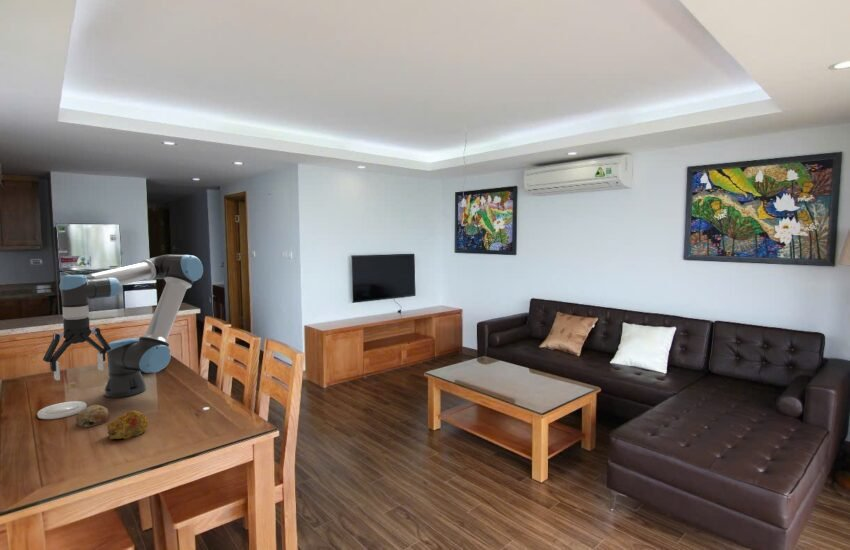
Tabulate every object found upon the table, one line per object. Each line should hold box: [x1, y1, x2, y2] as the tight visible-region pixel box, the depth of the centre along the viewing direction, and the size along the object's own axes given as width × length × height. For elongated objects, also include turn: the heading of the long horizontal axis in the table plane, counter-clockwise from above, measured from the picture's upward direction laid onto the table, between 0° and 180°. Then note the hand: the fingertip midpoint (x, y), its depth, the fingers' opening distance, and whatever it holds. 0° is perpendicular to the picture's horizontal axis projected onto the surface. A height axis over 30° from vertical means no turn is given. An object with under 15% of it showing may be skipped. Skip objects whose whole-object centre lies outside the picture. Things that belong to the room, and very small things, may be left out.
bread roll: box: [75, 404, 110, 428], centre depth 168 cm, size 10×10×8 cm
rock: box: [107, 410, 149, 440], centre depth 158 cm, size 11×8×10 cm
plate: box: [37, 400, 88, 420], centre depth 178 cm, size 15×15×1 cm
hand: (79, 374), depth 167 cm, fingers open, 13 cm apart
